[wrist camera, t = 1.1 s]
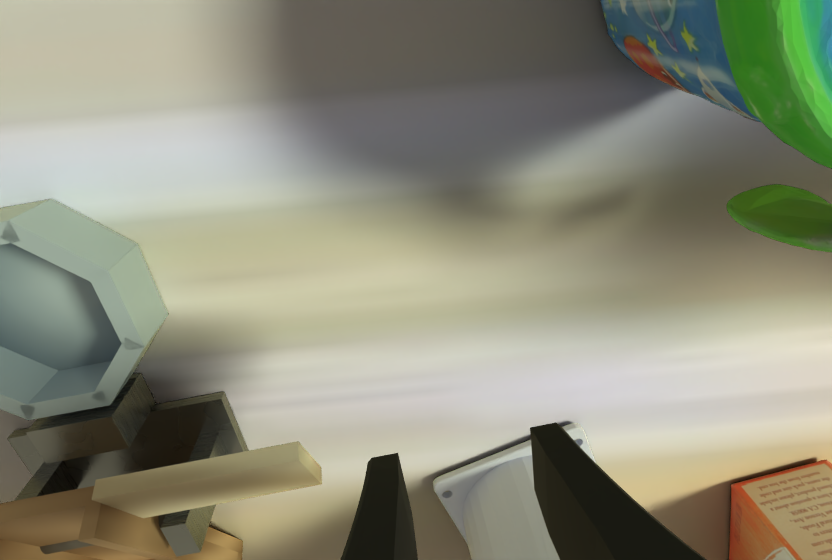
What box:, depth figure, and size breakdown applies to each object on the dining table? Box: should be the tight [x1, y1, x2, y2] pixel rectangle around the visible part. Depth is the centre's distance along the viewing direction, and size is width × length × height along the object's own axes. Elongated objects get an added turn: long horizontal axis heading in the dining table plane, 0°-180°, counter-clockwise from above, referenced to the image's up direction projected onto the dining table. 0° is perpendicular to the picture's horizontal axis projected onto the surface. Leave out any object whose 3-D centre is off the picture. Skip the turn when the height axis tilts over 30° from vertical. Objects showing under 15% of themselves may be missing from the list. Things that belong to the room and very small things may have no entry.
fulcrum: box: [7, 373, 249, 557], centre depth 20 cm, size 7×9×5 cm
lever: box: [0, 442, 322, 560], centre depth 20 cm, size 12×12×3 cm
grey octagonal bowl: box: [0, 199, 168, 420], centre depth 18 cm, size 7×7×2 cm
